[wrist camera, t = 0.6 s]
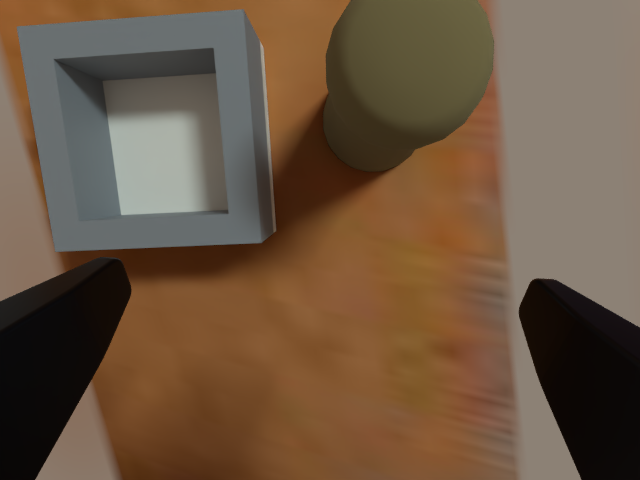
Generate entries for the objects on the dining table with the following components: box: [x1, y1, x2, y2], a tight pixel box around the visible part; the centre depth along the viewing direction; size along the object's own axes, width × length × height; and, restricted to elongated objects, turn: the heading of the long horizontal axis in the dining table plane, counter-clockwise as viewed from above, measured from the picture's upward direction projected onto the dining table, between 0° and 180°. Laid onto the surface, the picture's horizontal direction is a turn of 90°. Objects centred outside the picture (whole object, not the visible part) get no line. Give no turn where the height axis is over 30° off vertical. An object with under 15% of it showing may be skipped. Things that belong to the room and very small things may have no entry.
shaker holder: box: [17, 9, 276, 252], centre depth 19 cm, size 11×11×4 cm
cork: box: [323, 0, 494, 172], centre depth 15 cm, size 6×6×11 cm
